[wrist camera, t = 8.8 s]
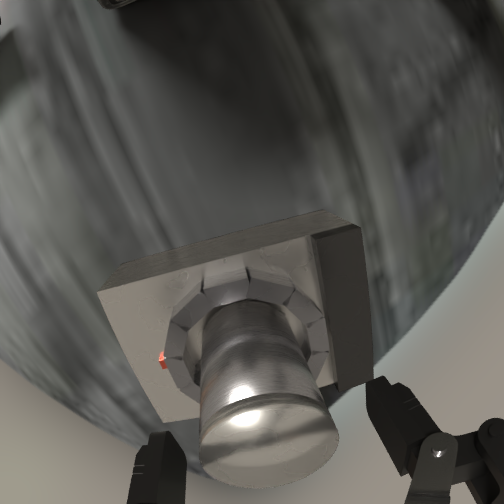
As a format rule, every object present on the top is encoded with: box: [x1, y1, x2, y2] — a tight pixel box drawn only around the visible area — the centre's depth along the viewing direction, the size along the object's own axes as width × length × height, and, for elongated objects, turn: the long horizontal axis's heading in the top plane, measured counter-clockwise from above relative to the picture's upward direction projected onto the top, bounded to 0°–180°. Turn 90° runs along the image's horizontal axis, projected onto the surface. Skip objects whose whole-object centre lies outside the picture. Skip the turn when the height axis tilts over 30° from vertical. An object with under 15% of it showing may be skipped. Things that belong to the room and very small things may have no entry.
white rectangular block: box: [97, 210, 374, 423], centre depth 19 cm, size 14×10×6 cm
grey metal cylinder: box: [199, 301, 339, 488], centre depth 13 cm, size 5×5×8 cm
